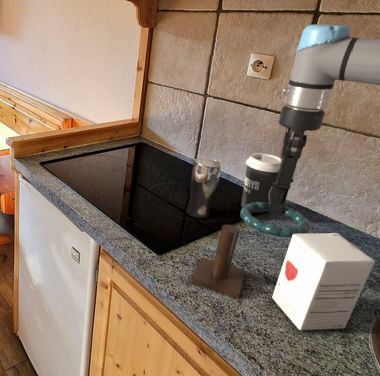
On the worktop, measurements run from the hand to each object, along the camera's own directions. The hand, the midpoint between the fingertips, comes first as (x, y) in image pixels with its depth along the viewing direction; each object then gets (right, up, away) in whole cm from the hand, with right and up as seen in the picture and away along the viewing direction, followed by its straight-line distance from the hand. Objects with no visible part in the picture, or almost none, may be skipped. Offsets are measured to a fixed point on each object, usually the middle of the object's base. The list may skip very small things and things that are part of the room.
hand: (274, 210), depth 91 cm
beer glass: (-10, -2, +21) cm, 23 cm away
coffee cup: (+8, -1, +24) cm, 25 cm away
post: (-15, -14, -6) cm, 22 cm away
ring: (-3, -1, -4) cm, 5 cm away
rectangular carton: (-2, -19, -15) cm, 24 cm away
